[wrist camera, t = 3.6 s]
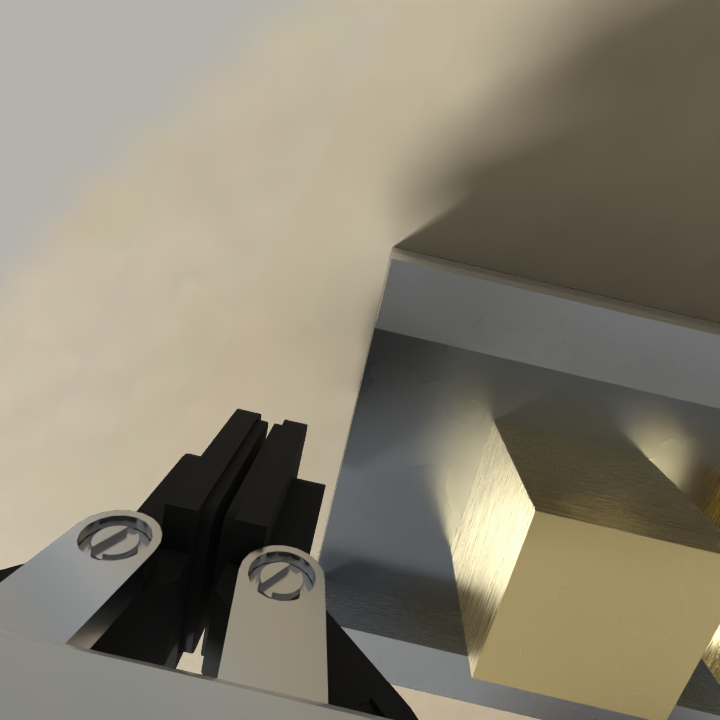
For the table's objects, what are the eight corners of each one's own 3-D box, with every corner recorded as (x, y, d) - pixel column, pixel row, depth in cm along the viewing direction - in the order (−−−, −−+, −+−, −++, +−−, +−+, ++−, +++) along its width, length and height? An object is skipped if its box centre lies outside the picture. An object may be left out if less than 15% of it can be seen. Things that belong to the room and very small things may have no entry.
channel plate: (964, 380, 14) (1151, 436, 10) (777, 680, 17) (872, 797, 13) (392, 246, 14) (391, 258, 10) (315, 571, 17) (295, 661, 13)
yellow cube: (646, 456, 13) (754, 562, 9) (591, 582, 14) (664, 723, 10) (493, 420, 13) (535, 510, 9) (450, 549, 14) (471, 677, 10)
